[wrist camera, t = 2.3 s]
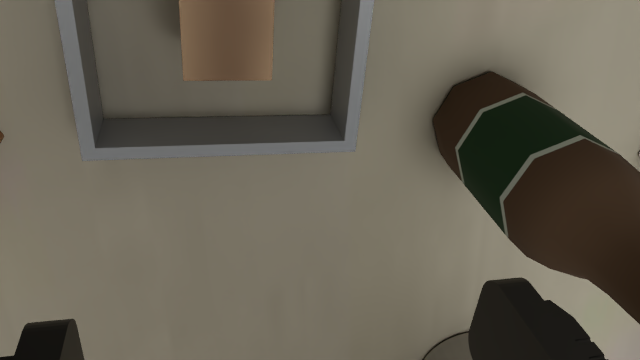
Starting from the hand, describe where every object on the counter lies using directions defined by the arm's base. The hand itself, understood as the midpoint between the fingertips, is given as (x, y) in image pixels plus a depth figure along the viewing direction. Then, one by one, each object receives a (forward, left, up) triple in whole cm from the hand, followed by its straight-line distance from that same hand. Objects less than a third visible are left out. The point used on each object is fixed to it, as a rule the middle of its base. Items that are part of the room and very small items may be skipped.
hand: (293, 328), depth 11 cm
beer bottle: (-19, +8, -26) cm, 33 cm away
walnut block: (0, 0, -26) cm, 26 cm away
